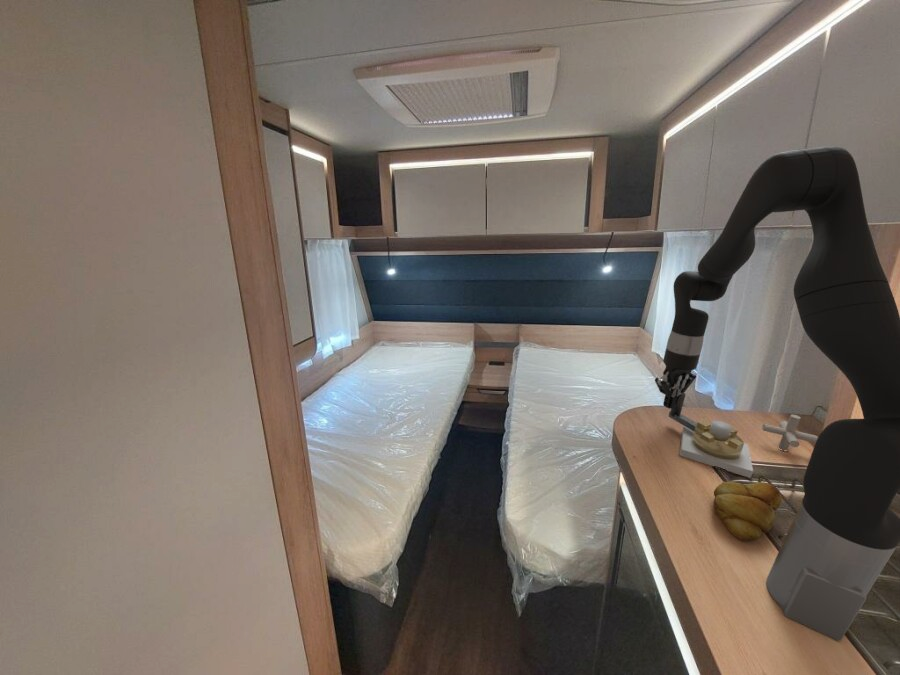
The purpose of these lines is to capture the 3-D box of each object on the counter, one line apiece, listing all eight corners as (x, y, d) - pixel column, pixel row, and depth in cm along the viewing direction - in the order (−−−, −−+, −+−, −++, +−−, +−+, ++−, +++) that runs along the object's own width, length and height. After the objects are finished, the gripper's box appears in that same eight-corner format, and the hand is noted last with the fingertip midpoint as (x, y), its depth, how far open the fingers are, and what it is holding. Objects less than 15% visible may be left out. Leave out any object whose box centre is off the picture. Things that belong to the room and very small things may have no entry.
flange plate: (750, 478, 80) (761, 448, 77) (679, 455, 88) (687, 427, 85) (745, 450, 89) (755, 423, 86) (681, 432, 97) (689, 406, 94)
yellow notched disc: (750, 454, 85) (761, 423, 82) (721, 463, 82) (731, 431, 79) (682, 415, 101) (689, 388, 98) (656, 421, 98) (662, 394, 95)
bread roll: (763, 557, 62) (777, 523, 59) (700, 523, 69) (710, 492, 66) (773, 517, 70) (787, 486, 67) (716, 490, 77) (726, 461, 74)
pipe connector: (815, 467, 83) (830, 433, 80) (761, 453, 88) (774, 420, 85) (802, 445, 91) (816, 412, 88) (754, 433, 96) (765, 402, 93)
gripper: (678, 357, 84) (663, 418, 90) (715, 350, 88) (698, 409, 94) (651, 346, 90) (639, 404, 96) (687, 341, 95) (673, 396, 101)
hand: (668, 406), depth 95 cm, fingers closed
